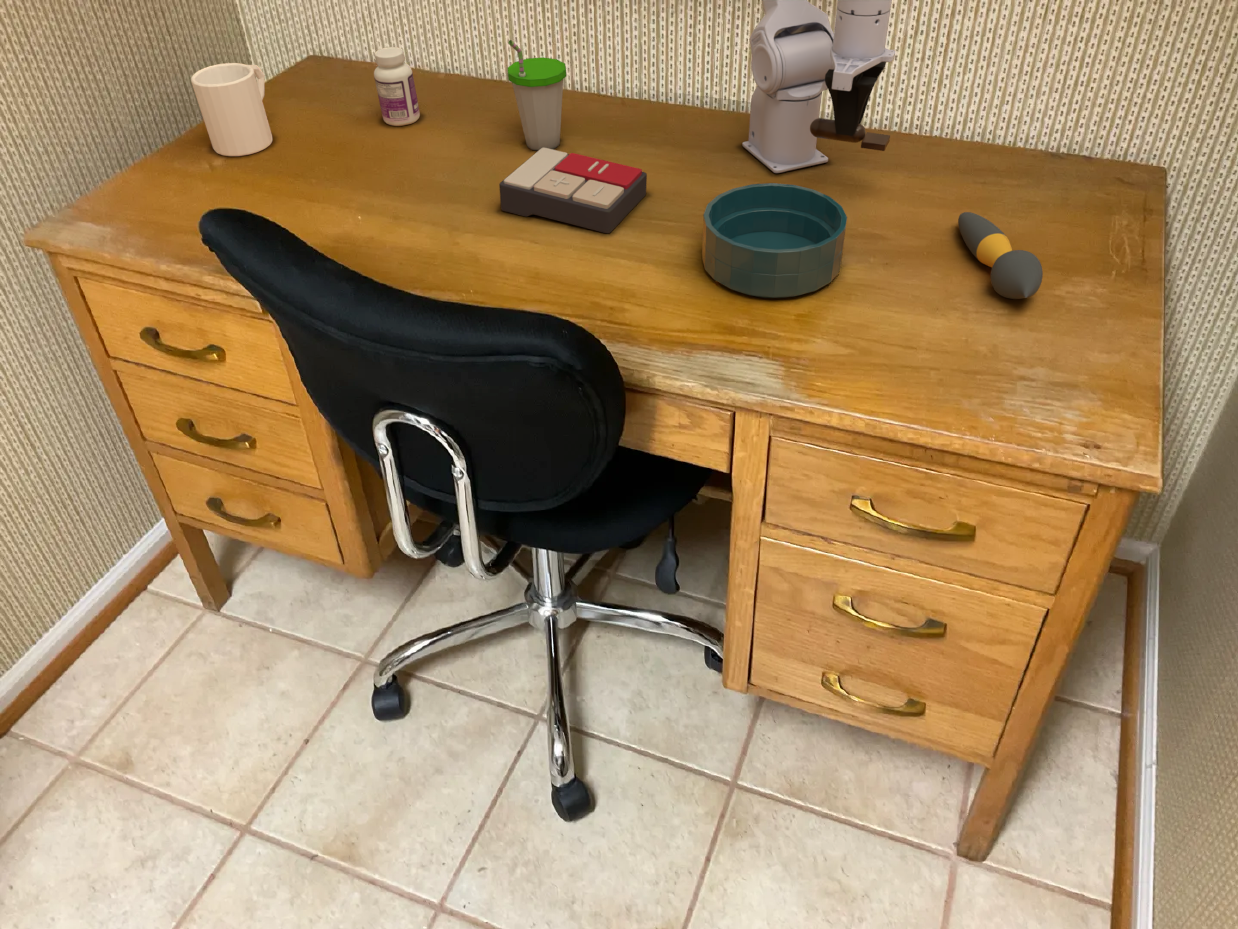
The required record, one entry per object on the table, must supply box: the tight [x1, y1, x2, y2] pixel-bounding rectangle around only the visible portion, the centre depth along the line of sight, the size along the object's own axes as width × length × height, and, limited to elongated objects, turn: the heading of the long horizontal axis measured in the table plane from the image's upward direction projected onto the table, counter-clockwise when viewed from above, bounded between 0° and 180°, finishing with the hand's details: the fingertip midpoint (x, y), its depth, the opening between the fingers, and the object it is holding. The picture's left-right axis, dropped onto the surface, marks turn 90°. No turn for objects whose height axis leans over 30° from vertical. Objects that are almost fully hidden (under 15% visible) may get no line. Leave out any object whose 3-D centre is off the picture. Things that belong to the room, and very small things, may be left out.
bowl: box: [701, 182, 848, 299], centre depth 107 cm, size 15×15×6 cm
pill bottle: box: [373, 46, 421, 127], centre depth 138 cm, size 5×5×10 cm
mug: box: [190, 62, 273, 157], centre depth 135 cm, size 8×12×10 cm
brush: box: [810, 117, 891, 152], centre depth 115 cm, size 9×3×2 cm, turn 67°
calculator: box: [498, 148, 648, 234], centre depth 119 cm, size 11×4×15 cm
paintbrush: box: [957, 211, 1044, 300], centre depth 105 cm, size 20×5×5 cm, turn 10°
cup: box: [507, 39, 567, 152], centre depth 129 cm, size 8×8×15 cm
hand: (847, 129), depth 114 cm, fingers closed on brush, 2 cm apart
